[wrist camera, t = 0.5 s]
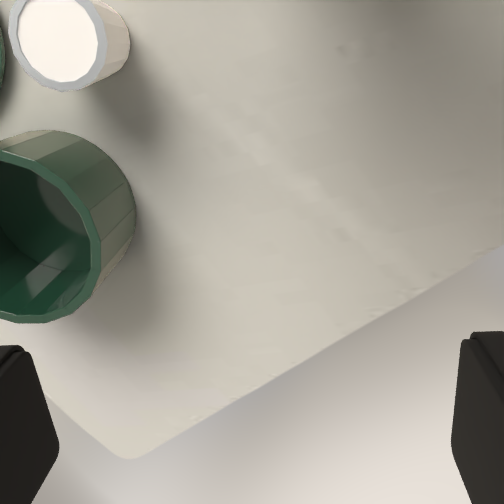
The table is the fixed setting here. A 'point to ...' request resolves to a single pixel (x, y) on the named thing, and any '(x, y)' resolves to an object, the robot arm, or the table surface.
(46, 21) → the white cup
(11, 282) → the pot
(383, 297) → the table surface
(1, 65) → the pot lid
